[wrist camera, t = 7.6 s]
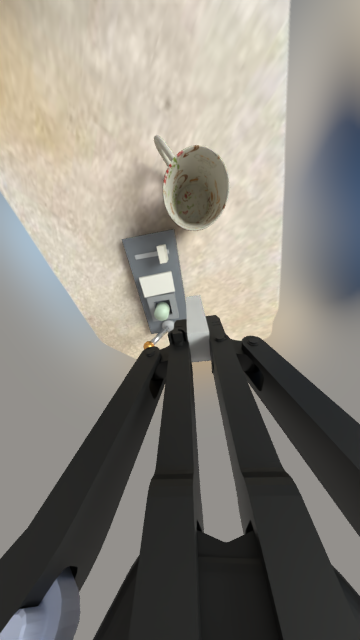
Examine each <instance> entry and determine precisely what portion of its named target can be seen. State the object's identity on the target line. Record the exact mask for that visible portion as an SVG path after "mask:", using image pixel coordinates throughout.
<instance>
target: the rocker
mask: <svg viewBox="0 0 360 640" xmlns="http://www.w3.org/2000/svg"><path fill="white" fill-rule="evenodd" d="M139 280H140V283H141V287H142V290H143V294H144V297H150V296H155V295H159V294H164V293H169V292H174V291H175V288H174V283H173V278H172V272H171V271H168V272H163V273H158V274H153V275H148V276H144V277H139Z"/></svg>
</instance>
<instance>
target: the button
mask: <svg viewBox="0 0 360 640" xmlns="http://www.w3.org/2000/svg"><path fill="white" fill-rule="evenodd" d="M169 311H170V307H169V305H168V304H167V303H165V302H160V303H158V304H157V306H156V309H155V312H154V316H155V318H156V319H157V320H159V321H164V320H166V319H167V318H168V316H169Z"/></svg>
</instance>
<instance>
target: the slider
mask: <svg viewBox="0 0 360 640" xmlns="http://www.w3.org/2000/svg"><path fill="white" fill-rule="evenodd" d="M157 252H158V256H159V261H160V264H162V263H167V261H168V260H169V259H168V254H167V249H166V244H163V245H159V246H157Z"/></svg>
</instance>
